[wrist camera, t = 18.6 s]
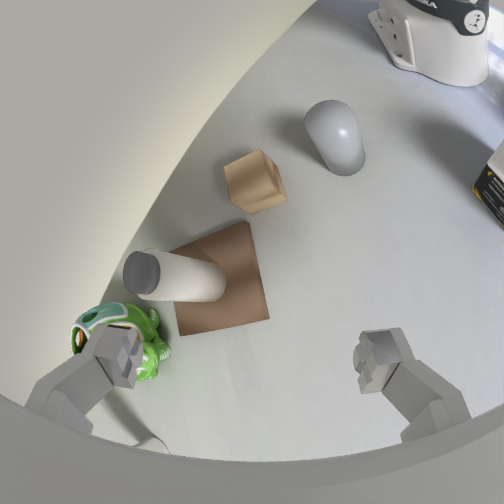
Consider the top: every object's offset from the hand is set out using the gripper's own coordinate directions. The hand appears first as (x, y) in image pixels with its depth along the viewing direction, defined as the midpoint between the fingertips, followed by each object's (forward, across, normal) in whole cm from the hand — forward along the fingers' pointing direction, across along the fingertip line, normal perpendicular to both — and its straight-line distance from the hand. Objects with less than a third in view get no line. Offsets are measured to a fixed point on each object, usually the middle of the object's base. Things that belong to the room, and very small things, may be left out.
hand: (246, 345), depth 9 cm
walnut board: (+22, +5, +14) cm, 27 cm away
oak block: (+28, -1, +4) cm, 28 cm away
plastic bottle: (+22, +6, +14) cm, 26 cm away
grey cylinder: (+26, -11, -1) cm, 28 cm away
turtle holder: (+21, +17, +26) cm, 37 cm away
